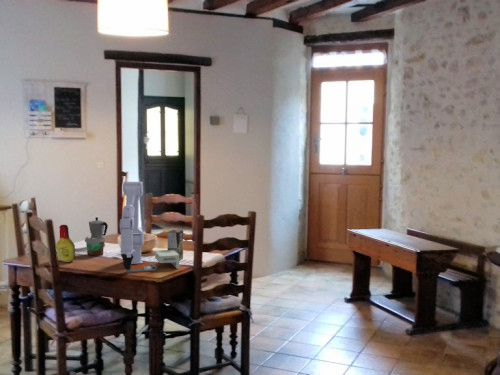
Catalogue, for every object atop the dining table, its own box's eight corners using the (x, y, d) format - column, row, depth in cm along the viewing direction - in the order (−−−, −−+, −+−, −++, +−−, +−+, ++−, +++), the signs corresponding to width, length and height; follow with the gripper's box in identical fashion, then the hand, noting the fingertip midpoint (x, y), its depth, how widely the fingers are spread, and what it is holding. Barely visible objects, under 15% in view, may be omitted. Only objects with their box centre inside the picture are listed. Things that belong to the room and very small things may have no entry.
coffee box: (178, 262, 308) (178, 232, 307) (167, 261, 309) (167, 232, 308) (183, 258, 317) (183, 229, 316) (172, 257, 318) (172, 229, 317)
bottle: (53, 261, 307) (52, 224, 305) (62, 259, 312) (61, 222, 310) (68, 263, 301) (68, 226, 299) (77, 261, 306) (77, 224, 304)
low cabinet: (160, 270, 290) (159, 256, 289) (155, 263, 304) (154, 250, 303) (179, 268, 293) (179, 255, 292) (173, 262, 307) (173, 249, 306)
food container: (80, 255, 321) (80, 238, 320) (87, 253, 327) (87, 236, 326) (98, 257, 317) (98, 239, 316) (105, 255, 322) (104, 238, 321)
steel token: (144, 270, 290) (144, 268, 290) (143, 268, 295) (143, 266, 295) (154, 270, 291) (154, 268, 291) (153, 267, 296) (153, 265, 296)
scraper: (126, 273, 283) (126, 261, 282) (124, 267, 293) (123, 256, 293) (157, 271, 287) (157, 259, 287) (153, 266, 298) (153, 254, 297)
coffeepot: (83, 246, 346) (83, 217, 344) (95, 244, 354) (94, 215, 352) (101, 249, 338) (101, 219, 336) (113, 246, 346) (113, 217, 344)
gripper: (137, 244, 277) (137, 271, 278) (133, 238, 291) (133, 264, 292) (122, 245, 275) (122, 272, 276) (119, 239, 288) (119, 265, 290)
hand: (127, 268), depth 284 cm, fingers closed on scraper, 2 cm apart
